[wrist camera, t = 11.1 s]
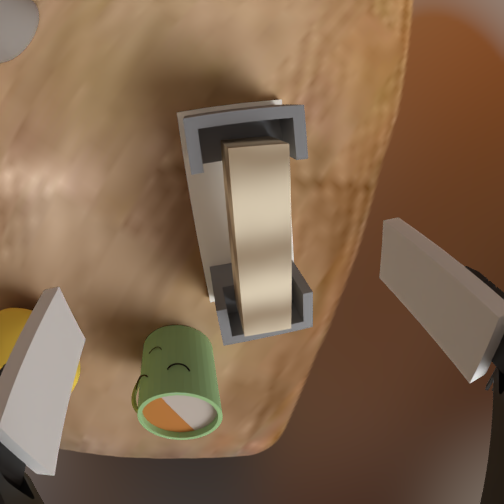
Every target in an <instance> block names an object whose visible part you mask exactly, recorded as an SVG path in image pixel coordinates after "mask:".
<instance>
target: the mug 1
mask: <svg viewBox="0 0 504 504" xmlns="http://www.w3.org/2000/svg"><path fill="white" fill-rule="evenodd" d="M38 23H39V11H38V8H37V6H36V4H35V3H34V2H33V1H32V0H0V63H3V62H7V61H10V60H12V59H13V58H15V57H17V56H18V55H19V54H20V53H21V52H23V51H24V49H25V48H26V47H27V46H28V45H29V43H30V42H31V40H32V38H33V37H34V35H35V32H36V30H37V27H38Z"/></svg>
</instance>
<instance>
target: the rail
mask: <svg viewBox="0 0 504 504" xmlns="http://www.w3.org/2000/svg"><path fill="white" fill-rule="evenodd" d="M220 141H221V154H222V166H223V177H224V189H225V200H226V211H227V222H228V232H229V242H230V253H231V263H232V273H233V283H234V292H235V301H236V305H237V309H238V313H239V317H240V321H241V324H242V328H243V332H244V336H251V335H257V334H263V333H269V332H275V331H280V330H286V329H291V302H292V246H291V185H290V151H289V143H286V142H284V141H281V140H279V139H276V138H274V137H271V136H264V137H250V138H238V139H227V140H220Z"/></svg>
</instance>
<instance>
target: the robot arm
mask: <svg viewBox="0 0 504 504" xmlns="http://www.w3.org/2000/svg"><path fill="white" fill-rule="evenodd" d="M379 278H380V279H381V280H382V281H383V282H384V283H385V284H386V285H387V286H388V287H389V289H390V290H391V291H392V292H393V293H394V294H395V295H396V296H397V297H398V299H399V300H400V301H401V302H402V303H403V304H404V305H405V306H406V308H407V309H408V310H409V311H410V312H411V313H412V314H413V316H414V317H415V318H416V319H417V320H418V321H419V322H420V323H421V325H422V326H423V327H424V328H425V329H426V331H427V332H428V333H429V334H430V335H431V336H432V338H433V339H434V340H435V341H436V342H437V344H438V345H439V346H440V347H441V348H442V350H443V351H444V352H445V353H446V354H447V356H448V357H449V358H450V359H451V360H452V361H453V363H454V364H455V366H456V367H457V368H458V369H459V370H460V372H461V373H462V374H463V376H464V377H465V378H466V379H467V380H468V382H469V383H471V382H473V381H474V380H476V379H478V378H479V377H481V376H483V375H485V373H486V372H487V369H488V367H489V366H490V364H491V362H493V363H494V364H495V366H496V368H495V371H494V372H493V374H492V376H491V378H490V380H489V381H488V383H487V385H486V390H488V389H489V388H490V386H491V384H492V382H493V389H492V391H493V414H492V429H491V440H490V448H489V457H488V464H487V471H486V477H485V482H484V488H483V493H482V498H481V503H480V504H504V292H502V291H501V290H500V289H499V288H498V287H497V288H496V287H495V285H494V284H493V283H492V282H491V281H488V279H487V278H486V277H484V276H483V275H482V274H481V273H480V272H478V271H476V270H474V269H471V268H469V267H467V266H465V267H464V266H463V265H462V264H461V263H459V262H458V261H457V260H455V259H454V258H453V257H451V256H450V255H449V254H447V253H446V252H445V251H444V250H442V249H441V248H440V247H439V246H437V245H436V244H434V243H433V242H432V241H431V240H429V239H428V238H426V237H425V236H424V235H422V234H421V233H420V232H418V231H417V230H415V229H414V228H413V227H411V226H410V225H408V224H407V223H405V222H404V221H403V220H401V219H400V218H394V219H389V220H384V221H383V240H382V255H381V266H380V277H379ZM85 340H86V339H85V337H84V335H83V333H82V332H81V330H80V328H79V326H78V324H77V322H76V320H75V318H74V316H73V314H72V312H71V310H70V308H69V306H68V304H67V302H66V300H65V298H64V296H63V294H62V292H61V290H60V288H59V287H56V288H51V289H46V290H44V291H43V293H42V295H41V296H40V298H39V300H38V302H37V304H36V305H35V307H34V309H33V311H32V313H31V314H30V316H29V318H28V320H27V322H26V324H25V326H24V328H23V330H22V332H21V333H20V335H19V337H18V339H17V341H16V343H15V346H14V348H13V350H12V352H11V354H10V356H9V358H8V360H7V362H6V364H4V365H3V367H2V368H1V369H0V504H44V502H43V501H42V499H41V497H40V495H39V494H38V492H37V490H36V488H35V486H34V484H33V482H32V481H31V479H30V477H29V476H28V475H27V474H26V473H25V472H24V471H25V466H26V465H27V466H28V467H29V468H30V469H32V470H33V471H34V472H35V473H37V474H45V475H55V469H56V463H57V457H58V451H59V445H60V440H61V435H62V430H63V425H64V420H65V416H66V411H67V407H68V402H69V398H70V394H71V390H72V386H73V382H74V378H75V375H76V371H77V367H78V364H79V360H80V356H81V353H82V350H83V346H84V343H85Z"/></svg>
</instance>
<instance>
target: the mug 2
mask: <svg viewBox="0 0 504 504" xmlns="http://www.w3.org/2000/svg"><path fill="white" fill-rule="evenodd" d="M138 389H139V400H138V407H137V404H136V394H137V391H138ZM132 406H133V408H134V410H135V411H136V413H137V416H138V420H139V422H140V423H141V425H142V426H143V427H144V428H145V429H147V430H148V431H149V432H151V433H153V434H155V435H158V436H160V437H164V438H168V439H176V440H188V439H195V438H199V437H202V436H205V435H207V434H209V433H211V432H213V431H214V430H215V429H216V428H217V427H218V426H219V425H220V423H221V422H222V409H221V403H220V397H219V390H218V384H217V377H216V370H215V364H214V357H213V349H212V345H211V343H210V341H209V339H208V338H207V337H206V336H205V335H204V334H203V333H201V332H200V331H198V330H196V329H194V328H191V327H188V326H183V325H171V326H165V327H162V328H159V329H157V330H155V331H154V332H152V333H151V334H150V335H149V336H148V337H147V339H146V340H145V343H144V347H143V356H142V365H141V376H140V377H139V379H138V381H137V383H136V385H135V387H134V390H133V393H132Z"/></svg>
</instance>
